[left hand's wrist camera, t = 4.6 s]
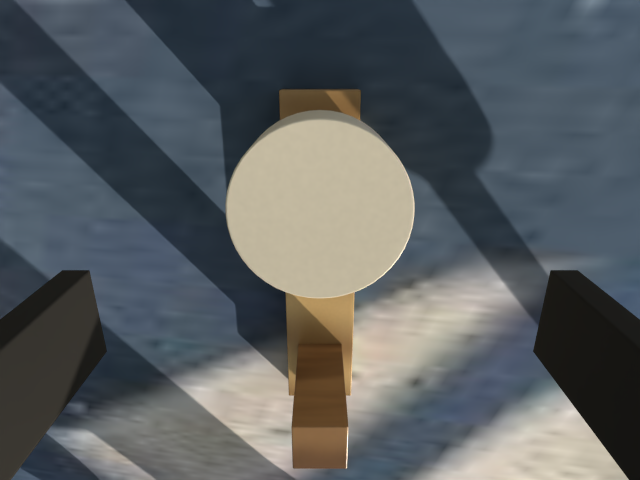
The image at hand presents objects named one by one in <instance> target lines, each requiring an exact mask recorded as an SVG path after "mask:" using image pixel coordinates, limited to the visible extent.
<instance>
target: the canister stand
mask: <svg viewBox="0 0 640 480" xmlns="http://www.w3.org/2000/svg"><path fill="white" fill-rule="evenodd" d="M360 103H361V90H359V89H281V90H279V104H280V120H282V119H284V118H286V117H288V116H291V115H293V114H296V113H300V112H305V111H312V110H328V111H335V112H340V113H344V114H346V115H349V116H352V117H354V118H356V119H358V120H360ZM353 317H354V292H353V293H350V294H347V295H343V296H338V297H332V298H308V297H302V296H297V295H293V294H290V293H287V292H286V318H287V349H288V379H289V395H294V404H293V416H292V454H293V468H347V452H348V417H347V404H346V395H351V378H352V347H353Z"/></svg>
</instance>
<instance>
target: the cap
mask: <svg viewBox="0 0 640 480" xmlns="http://www.w3.org/2000/svg"><path fill="white" fill-rule="evenodd" d="M226 220H227V227H228V230H229V233H230V237H231V239H232V242H233V244H234V246H235V248H236V250H237V252H238V253H239V255H240V257H241V258H242V260H243V261H244V262H245V263H246V265H247V266H248V267H249V268H250V269H251V270H252V271H253V272H254V273H255V274H256V275H257V276H259V277H260V278H261V279H263V280H264V281H265V282H267V283H268V284H270V285H272V286H273V287H275V288H277V289H280V290H282V291H284V292H287V293H290V294H293V295H297V296H302V297H308V298H332V297H338V296H343V295H347V294H350V293H353V292H356V291H358V290H360V289H363V288H365V287H366V286H368V285H370V284H372V283H373V282H375V281H376V280H377V279H379V278H380V277H381V276H383V275H384V274H385V273H386V272H387V271H388V270H389V269H390V268H391V267H392V266H393V264H394V263H395V262H396V261H397V259H398V258H399V257H400V255H401V253H402V252H403V250H404V248H405V246H406V244H407V242H408V239H409V237H410V233H411V230H412V226H413V220H414V197H413V190H412V186H411V183H410V179H409V177H408V175H407V172H406V170H405V168H404V166H403V165H402V163H401V161H400V160H399V158H398V157H397V155H396V154H395V153H394V152H393V151H392V149H391V148H390V147H389V146H388V145H387V143H386V142H385V141H384V140H383V139H382V138H381V137H380V135H378V134H377V133H376V132H375V131H374V130H373V129H372V128H371V127H369V126H368V125H366V124H365V123H364V122H362V121H360V120H358V119H356V118H354V117H352V116H349V115H346V114H344V113H340V112H335V111H328V110H312V111H305V112H300V113H296V114H293V115H291V116H288V117H286V118H284V119H282V120H280V121H278V122H276V123H275V124H274V125H272V126H271V127H269V128H268V129H267V130H266V131H265V132H264V133H263V134H261V135H260V137H259V138H258V139H257V140H256V141H255V142H254V143H253V145H252V146H251V147H250V148H249V149H248V151H247V152H246V153H245V154H244V155H243V157H242V158H241V160H240V161H239V163H238V165H237V166H236V168H235V170H234V172H233V175H232V177H231V179H230V183H229V186H228V190H227V196H226Z"/></svg>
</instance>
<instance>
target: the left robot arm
mask: <svg viewBox="0 0 640 480" xmlns="http://www.w3.org/2000/svg"><path fill="white" fill-rule="evenodd" d="M106 352H107V350H106V345H105V341H104V336H103V332H102V327H101V322H100V318H99V313H98V308H97V304H96V299H95V295H94V290H93V285H92V281H91V276H90V271H89V270H62V271H61V272H60V273H59V274H57V275H56V276H55V277H53V278H52V279H51V280H50V281H48V282H47V283H46V284H45V285H43V286H42V287H41V288H40V289H38V290H37V291H36V292H35V293H33V294H32V295H31V296H30V297H28V298H27V299H26V300H24V301H23V302H22V303H21V304H19V305H18V306H17V307H16V308H14V309H13V310H12V311H11V312H9V313H8V314H7V315H6V316H4V317H3V318H2V319H1V320H0V480H11V479H12V478H13V476H14V475H15V474H16V472H17V471H18V469H19V468H20V467H21V465H22V464H23V463H24V461H25V460H26V459H27V457H28V456H29V455H30V453H31V452H32V451H33V449H34V448H35V447H36V445H37V444H38V443H39V441H40V440H41V439H42V437H43V436H44V435H45V433H46V432H47V431H48V429H49V428H50V427H51V425H52V424H53V423H54V421H55V420H56V419H57V417H58V416H59V415H60V413H61V412H62V411H63V409H64V408H65V407H66V405H67V404H68V403H69V401H70V400H71V399H72V397H73V396H74V395H75V393H76V392H77V391H78V389H79V388H80V387H81V385H82V384H83V383H84V381H85V380H86V378H87V377H88V376H89V374H90V373H91V372H92V370H93V369H94V368H95V366H96V365H97V364H98V362H99V361H100V360H101V358H102V357H103V356H104V354H105V353H106ZM533 352H534V353H535V354H536V356H537V357H538V358H539V360H540V361H541V362H542V364H543V365H544V366H545V368H546V369H547V370H548V372H549V373H550V374H551V376H552V377H553V378H554V380H555V381H556V383H557V384H558V385H559V387H560V388H561V389H562V391H563V392H564V393H565V395H566V396H567V397H568V399H569V400H570V401H571V403H572V404H573V405H574V407H575V408H576V409H577V411H578V412H579V413H580V415H581V416H582V417H583V419H584V420H585V421H586V423H587V424H588V425H589V427H590V428H591V429H592V431H593V432H594V433H595V435H596V436H597V437H598V439H599V440H600V441H601V443H602V444H603V445H604V447H605V448H606V449H607V451H608V452H609V453H610V455H611V456H612V457H613V459H614V460H615V461H616V463H617V464H618V465H619V467H620V468H621V469H622V471H623V472H624V474H625V475H626V476H627V478H628V479H629V480H640V320H639V319H638V318H637V317H636V316H634V315H633V314H632V313H631V312H629V311H628V310H627V309H626V308H624V307H623V306H622V305H621V304H619V303H618V302H617V301H616V300H614V299H613V298H612V297H610V296H609V295H608V294H607V293H605V292H604V291H603V290H602V289H600V288H599V287H598V286H597V285H595V284H594V283H593V282H592V281H590V280H589V279H588V278H587V277H585V276H584V275H583V274H581V273H580V272H579V271H578V270H551V271H550V276H549V281H548V285H547V290H546V295H545V299H544V304H543V308H542V313H541V318H540V322H539V327H538V332H537V336H536V341H535V345H534V350H533Z"/></svg>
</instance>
